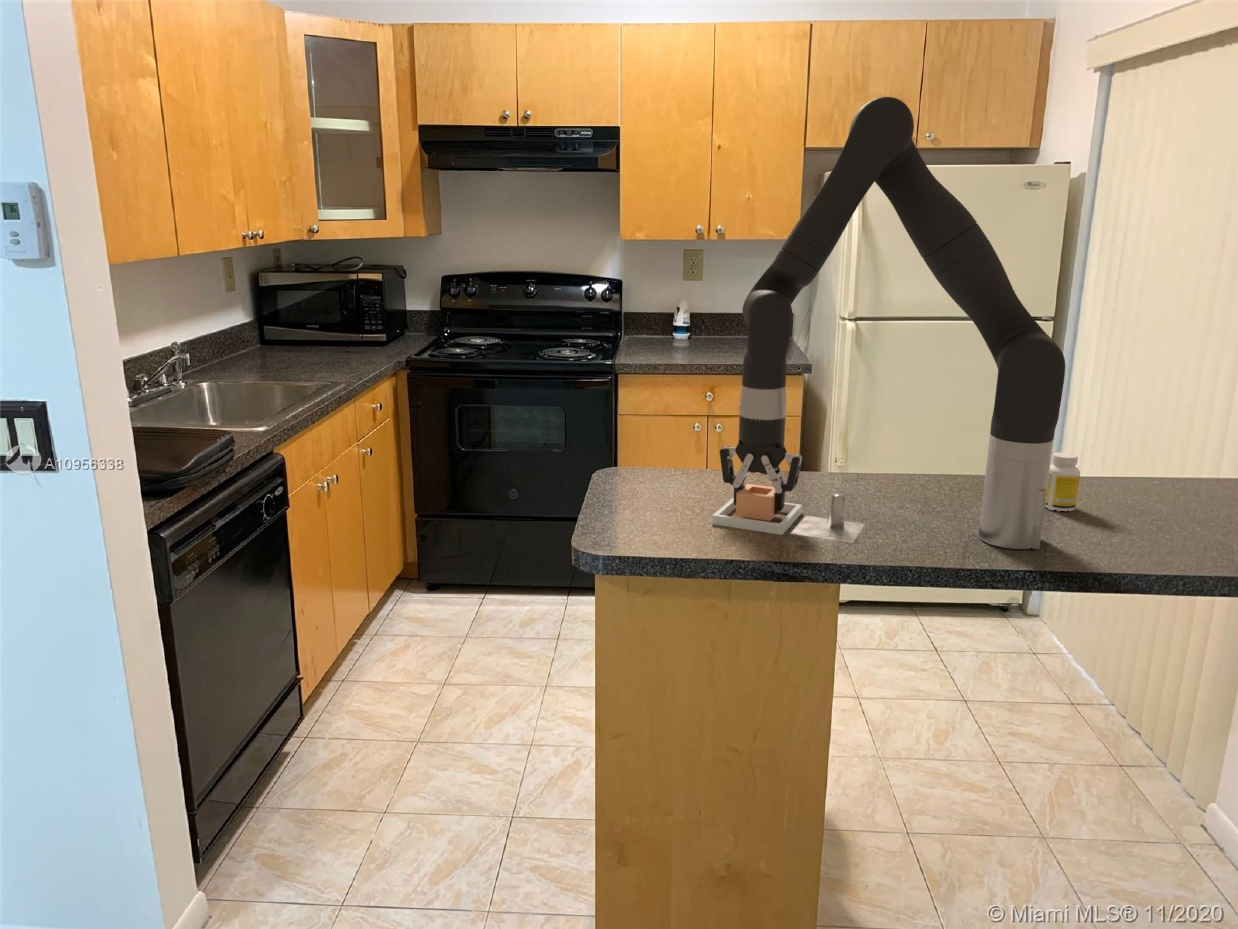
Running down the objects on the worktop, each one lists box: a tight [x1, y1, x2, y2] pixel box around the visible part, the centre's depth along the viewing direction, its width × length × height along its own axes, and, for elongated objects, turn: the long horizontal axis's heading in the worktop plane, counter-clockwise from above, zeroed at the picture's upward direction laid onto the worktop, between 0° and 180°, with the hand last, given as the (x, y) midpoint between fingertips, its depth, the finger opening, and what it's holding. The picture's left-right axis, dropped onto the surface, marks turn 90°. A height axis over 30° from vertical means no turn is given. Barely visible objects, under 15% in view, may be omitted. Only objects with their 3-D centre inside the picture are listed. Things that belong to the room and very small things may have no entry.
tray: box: [711, 496, 803, 536], centre depth 156 cm, size 12×12×2 cm
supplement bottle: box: [1045, 452, 1081, 513], centre depth 164 cm, size 5×5×10 cm
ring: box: [735, 483, 778, 522], centre depth 155 cm, size 6×6×4 cm
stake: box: [790, 492, 866, 544], centre depth 151 cm, size 10×10×6 cm
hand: (758, 509), depth 156 cm, fingers closed on ring, 5 cm apart
